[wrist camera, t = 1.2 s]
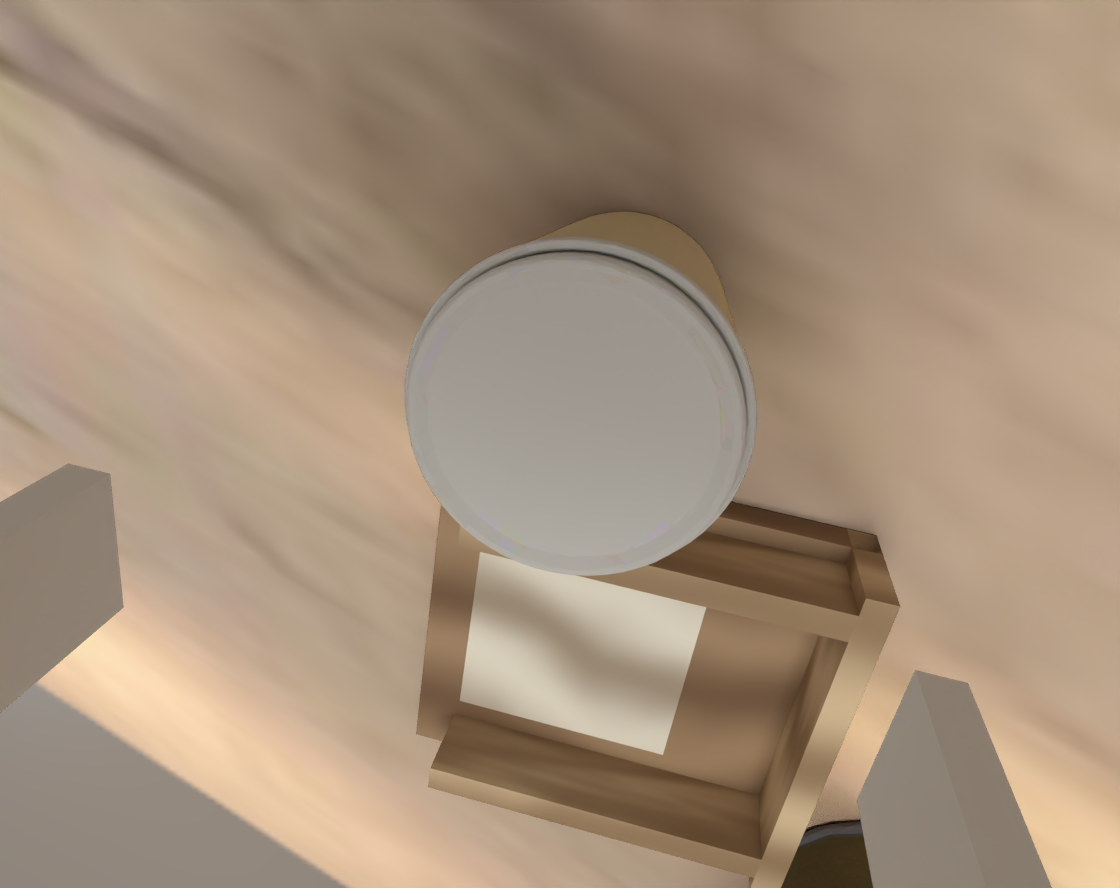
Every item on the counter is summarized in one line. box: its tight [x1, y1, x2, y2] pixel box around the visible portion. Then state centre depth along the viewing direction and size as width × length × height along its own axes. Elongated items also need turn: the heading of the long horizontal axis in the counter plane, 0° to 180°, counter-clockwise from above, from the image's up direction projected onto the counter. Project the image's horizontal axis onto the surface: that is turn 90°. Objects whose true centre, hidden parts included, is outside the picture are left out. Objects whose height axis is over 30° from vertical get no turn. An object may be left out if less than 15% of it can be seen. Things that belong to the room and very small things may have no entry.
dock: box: [416, 502, 900, 888], centre depth 35 cm, size 16×18×5 cm
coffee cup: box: [405, 211, 757, 576], centre depth 26 cm, size 9×9×12 cm
